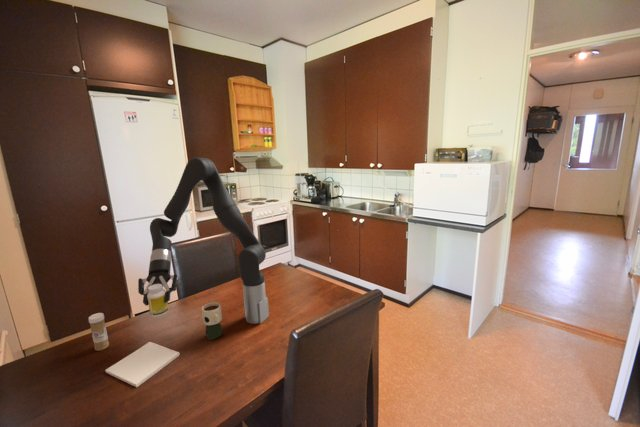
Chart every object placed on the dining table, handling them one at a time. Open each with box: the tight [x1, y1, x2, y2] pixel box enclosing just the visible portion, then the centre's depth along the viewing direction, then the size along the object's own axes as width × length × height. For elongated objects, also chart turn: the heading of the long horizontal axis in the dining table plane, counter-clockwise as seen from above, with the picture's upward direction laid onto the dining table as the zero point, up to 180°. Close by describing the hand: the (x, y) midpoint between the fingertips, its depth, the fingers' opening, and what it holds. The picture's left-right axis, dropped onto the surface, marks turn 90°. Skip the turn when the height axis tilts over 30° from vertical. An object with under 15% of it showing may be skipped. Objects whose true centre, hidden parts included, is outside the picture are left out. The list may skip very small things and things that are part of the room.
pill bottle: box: [147, 284, 169, 318], centre depth 109 cm, size 6×6×11 cm
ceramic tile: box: [105, 341, 180, 388], centre depth 101 cm, size 16×16×1 cm
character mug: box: [201, 301, 223, 341], centre depth 114 cm, size 11×7×13 cm, turn 44°
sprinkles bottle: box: [88, 312, 110, 351], centre depth 109 cm, size 5×5×14 cm
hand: (156, 303), depth 108 cm, fingers closed on pill bottle, 6 cm apart
